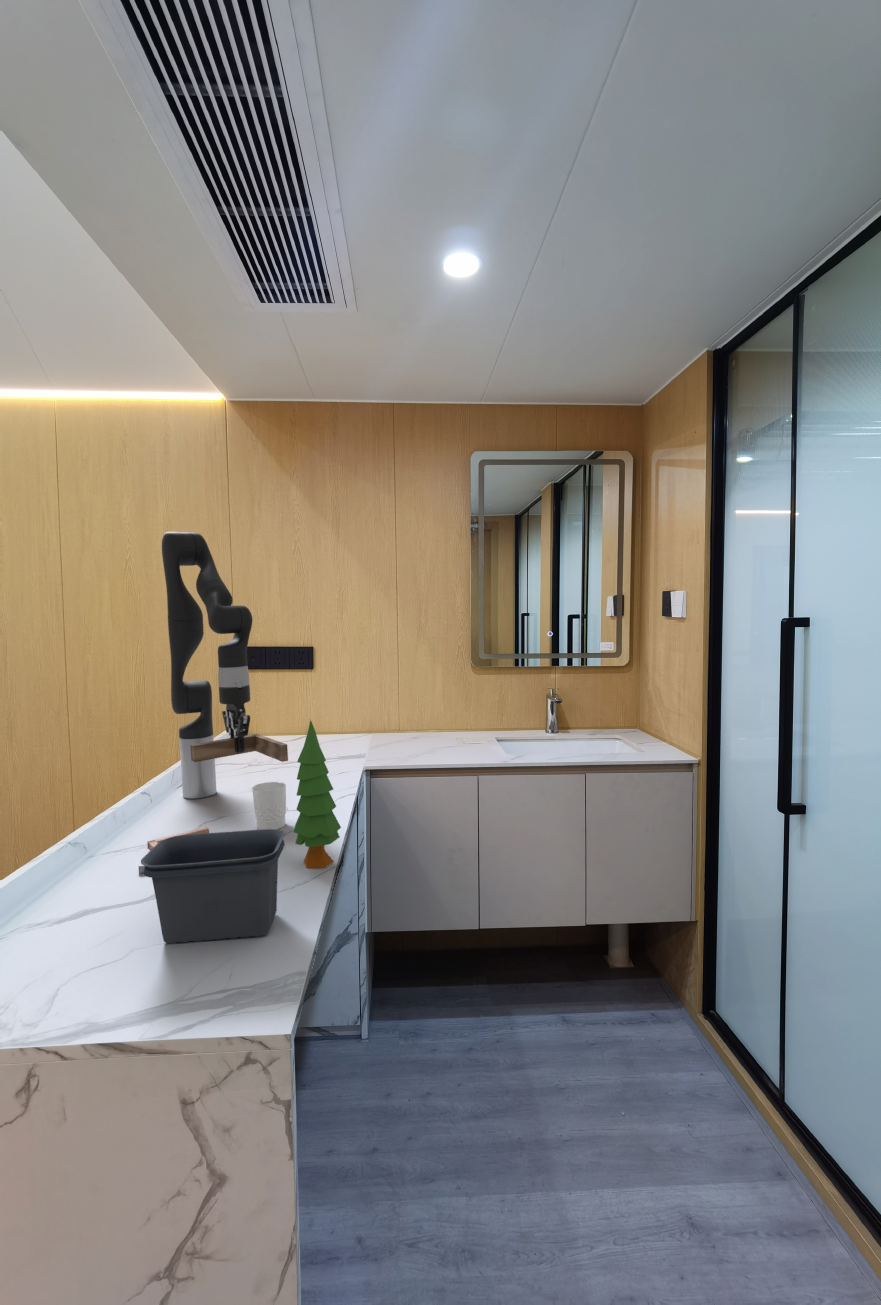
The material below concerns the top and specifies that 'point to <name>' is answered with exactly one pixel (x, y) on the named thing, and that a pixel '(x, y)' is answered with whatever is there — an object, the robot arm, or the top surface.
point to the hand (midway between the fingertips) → (237, 750)
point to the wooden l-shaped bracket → (228, 748)
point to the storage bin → (215, 884)
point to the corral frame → (198, 831)
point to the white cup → (270, 805)
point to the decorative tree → (315, 804)
